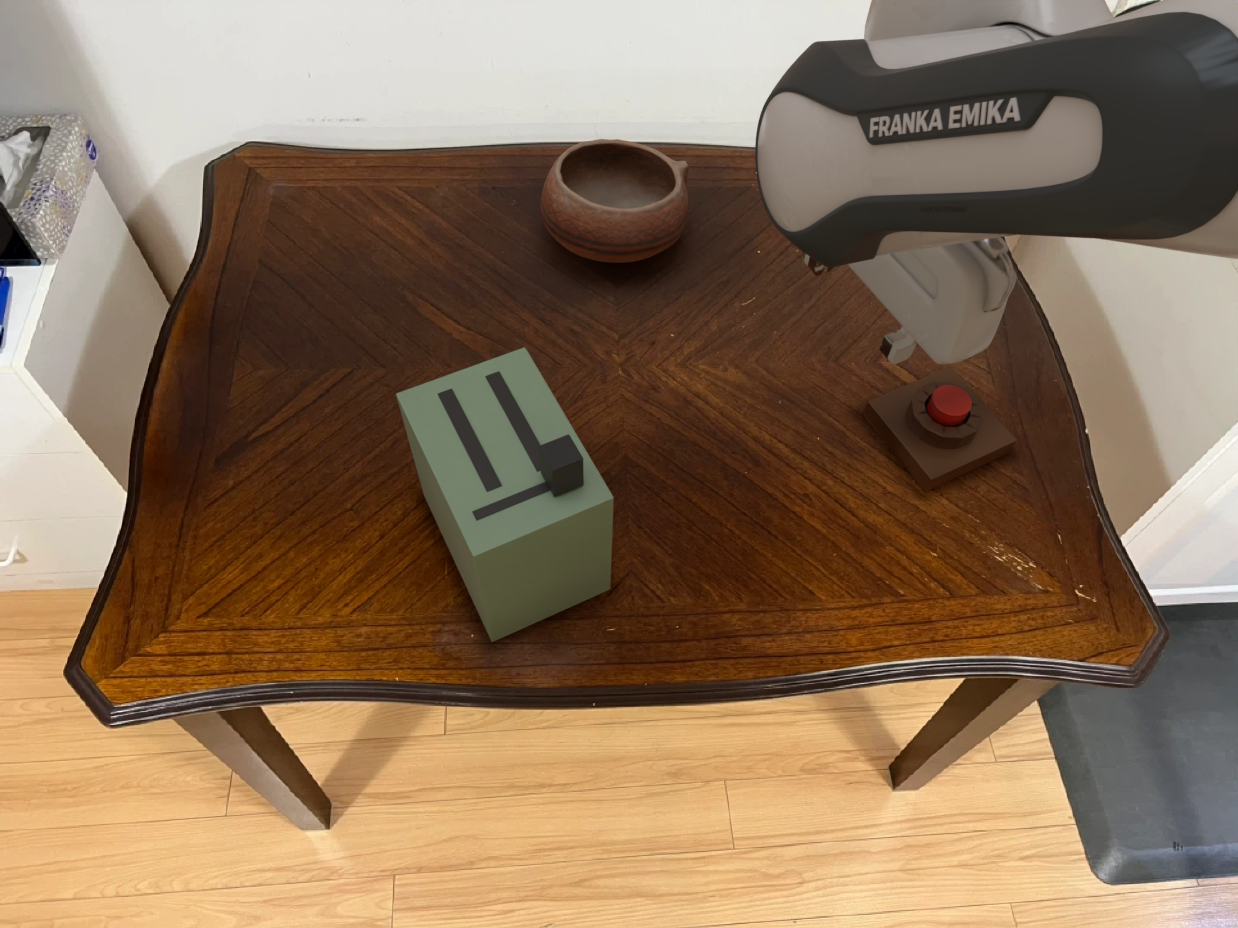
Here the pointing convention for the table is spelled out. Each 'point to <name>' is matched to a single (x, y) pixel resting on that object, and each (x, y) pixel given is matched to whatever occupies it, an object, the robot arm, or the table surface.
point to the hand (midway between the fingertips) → (854, 309)
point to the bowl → (615, 200)
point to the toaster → (508, 492)
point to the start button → (949, 405)
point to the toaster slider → (561, 465)
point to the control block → (937, 431)
